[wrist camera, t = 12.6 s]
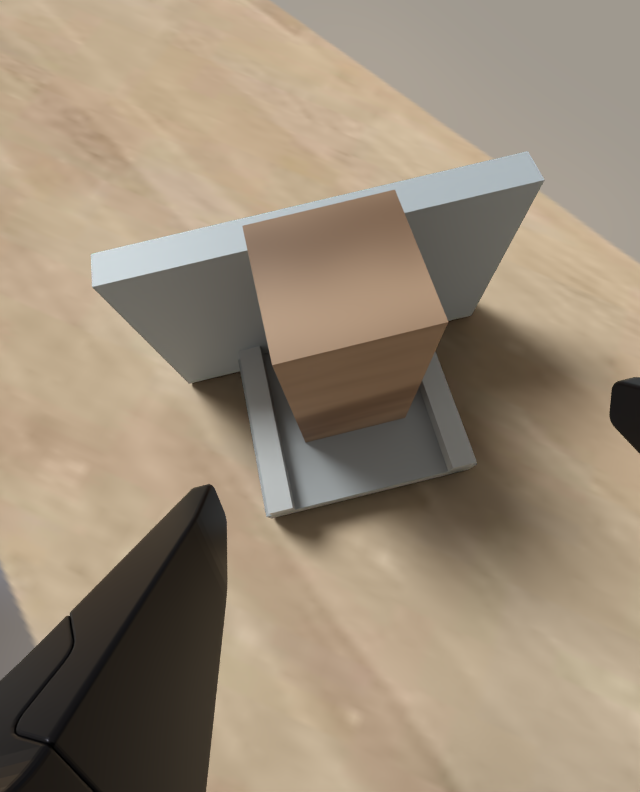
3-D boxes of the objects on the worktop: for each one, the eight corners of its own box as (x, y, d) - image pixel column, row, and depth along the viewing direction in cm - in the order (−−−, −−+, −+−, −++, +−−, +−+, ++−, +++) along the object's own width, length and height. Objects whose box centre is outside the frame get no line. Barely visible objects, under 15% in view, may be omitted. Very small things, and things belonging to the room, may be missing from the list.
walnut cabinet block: (405, 417, 22) (448, 321, 12) (305, 442, 22) (272, 365, 12) (376, 330, 24) (394, 189, 14) (284, 352, 23) (241, 225, 14)
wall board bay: (530, 453, 22) (665, 388, 13) (208, 534, 22) (101, 527, 12) (462, 294, 26) (527, 151, 16) (186, 360, 25) (90, 254, 16)
